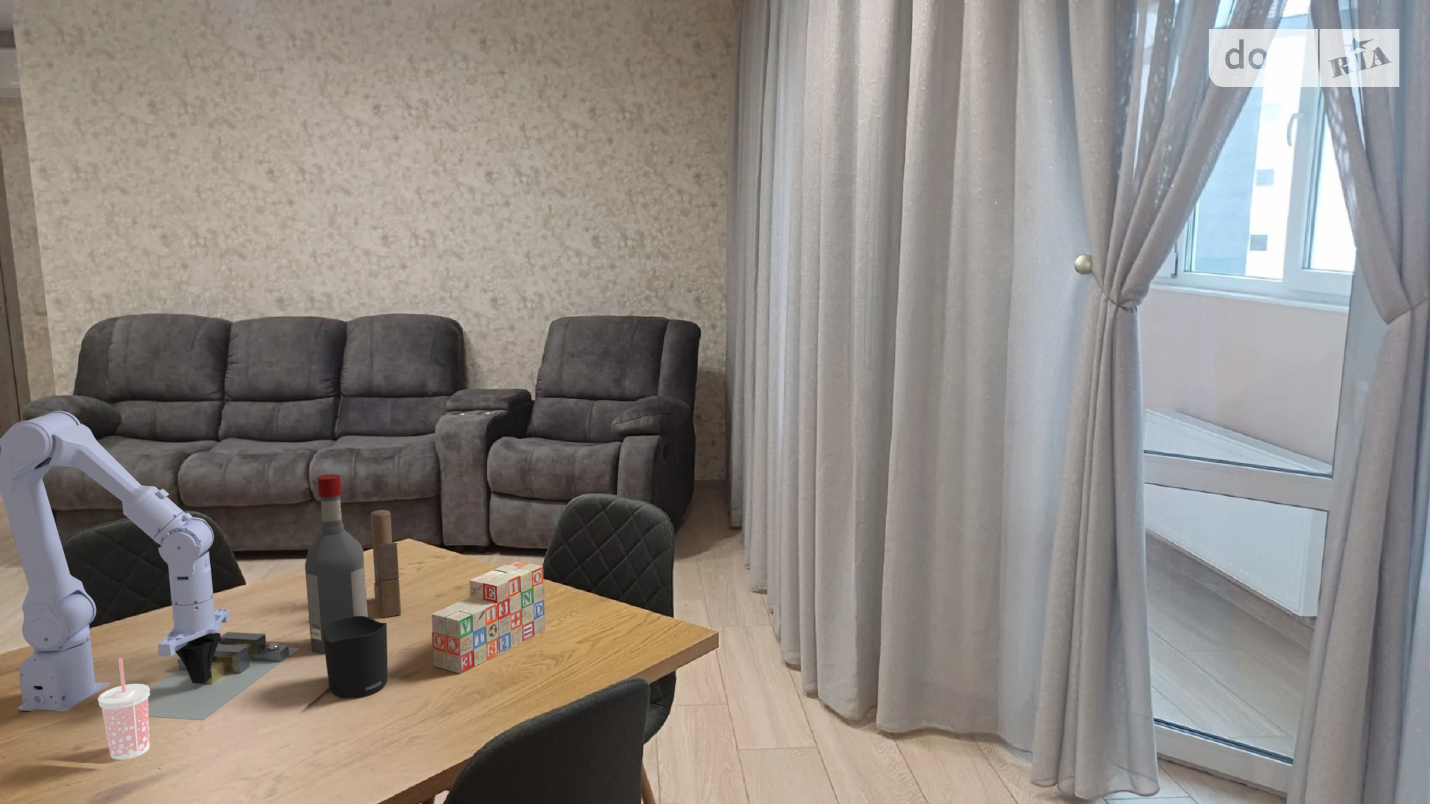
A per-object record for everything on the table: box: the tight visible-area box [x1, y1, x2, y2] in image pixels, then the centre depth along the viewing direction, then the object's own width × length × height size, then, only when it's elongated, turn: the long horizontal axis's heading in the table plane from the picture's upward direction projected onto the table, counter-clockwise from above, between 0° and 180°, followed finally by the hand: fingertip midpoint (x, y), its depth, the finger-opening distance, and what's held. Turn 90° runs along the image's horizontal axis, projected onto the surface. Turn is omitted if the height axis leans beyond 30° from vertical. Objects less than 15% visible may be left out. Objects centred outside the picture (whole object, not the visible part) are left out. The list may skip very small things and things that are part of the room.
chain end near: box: [177, 644, 250, 674], centre depth 164 cm, size 2×11×4 cm, turn 82°
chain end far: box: [219, 631, 290, 663], centre depth 169 cm, size 2×11×4 cm, turn 82°
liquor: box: [304, 473, 369, 655], centre depth 173 cm, size 9×9×30 cm
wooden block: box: [370, 509, 402, 618], centre depth 192 cm, size 4×11×18 cm, turn 25°
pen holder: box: [323, 616, 389, 699], centre depth 159 cm, size 9×9×10 cm
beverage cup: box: [97, 657, 151, 761], centre depth 138 cm, size 6×6×14 cm
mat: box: [148, 647, 301, 721], centre depth 161 cm, size 26×15×1 cm, turn 172°
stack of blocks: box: [431, 560, 546, 674], centre depth 173 cm, size 21×6×12 cm, turn 150°
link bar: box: [204, 644, 251, 684], centre depth 165 cm, size 11×3×2 cm, turn 172°
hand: (200, 681), depth 158 cm, fingers closed
